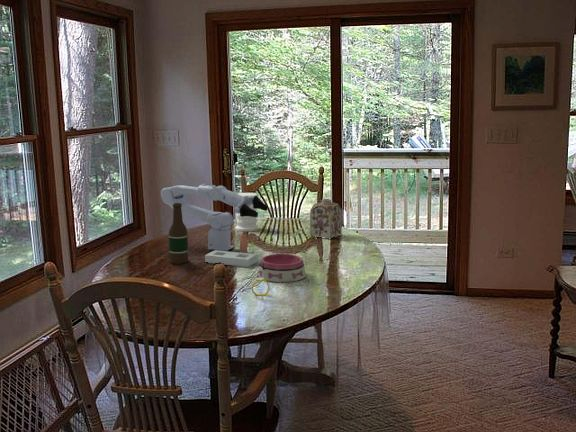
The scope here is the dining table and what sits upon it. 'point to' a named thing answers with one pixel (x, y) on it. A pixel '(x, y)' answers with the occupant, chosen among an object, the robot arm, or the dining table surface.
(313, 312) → the dining table surface
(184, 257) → the beer bottle
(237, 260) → the hole block
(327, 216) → the decorative jar
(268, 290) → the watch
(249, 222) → the decorative container
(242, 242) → the peg
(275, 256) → the dog bowl
